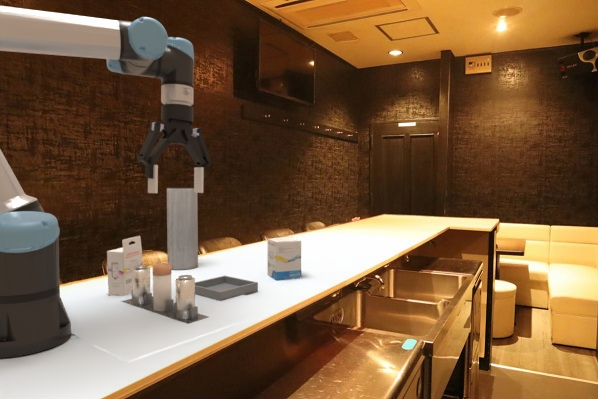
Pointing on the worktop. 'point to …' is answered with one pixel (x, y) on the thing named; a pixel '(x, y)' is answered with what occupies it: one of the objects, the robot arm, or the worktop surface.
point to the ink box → (284, 258)
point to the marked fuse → (161, 285)
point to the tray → (225, 287)
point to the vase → (182, 228)
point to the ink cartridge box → (123, 266)
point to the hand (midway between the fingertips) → (176, 193)
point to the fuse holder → (178, 311)
